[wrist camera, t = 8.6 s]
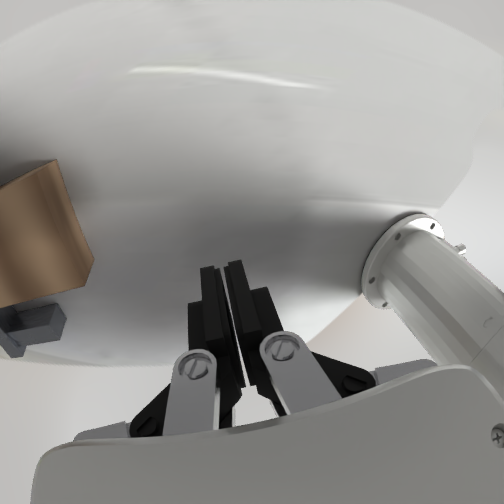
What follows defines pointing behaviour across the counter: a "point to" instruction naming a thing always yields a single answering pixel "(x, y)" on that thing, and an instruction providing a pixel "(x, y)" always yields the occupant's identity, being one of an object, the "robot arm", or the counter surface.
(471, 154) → the counter surface
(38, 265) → the walnut slab
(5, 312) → the stop bracket
